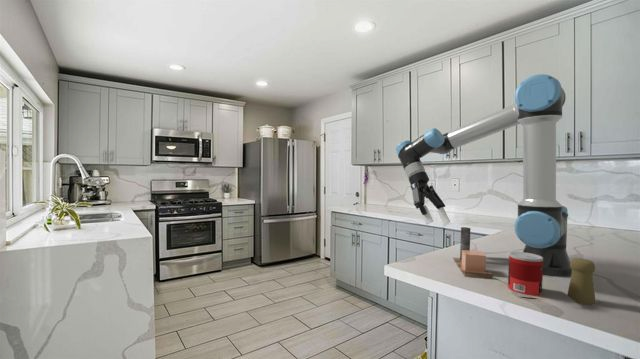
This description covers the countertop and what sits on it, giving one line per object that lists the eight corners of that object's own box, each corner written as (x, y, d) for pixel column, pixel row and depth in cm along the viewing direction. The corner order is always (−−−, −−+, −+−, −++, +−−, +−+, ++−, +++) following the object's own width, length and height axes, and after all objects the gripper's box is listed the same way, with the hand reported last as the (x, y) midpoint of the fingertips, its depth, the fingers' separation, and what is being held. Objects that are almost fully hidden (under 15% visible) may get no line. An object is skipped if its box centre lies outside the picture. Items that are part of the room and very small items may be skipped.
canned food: (547, 301, 82) (549, 260, 82) (514, 298, 84) (515, 258, 84) (533, 290, 90) (535, 252, 89) (503, 287, 91) (504, 250, 91)
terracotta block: (461, 267, 107) (461, 249, 107) (480, 268, 105) (480, 251, 105) (465, 272, 101) (465, 254, 101) (485, 274, 99) (485, 255, 99)
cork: (560, 295, 86) (562, 256, 86) (581, 295, 87) (582, 256, 86) (581, 305, 80) (582, 263, 80) (602, 304, 81) (604, 262, 80)
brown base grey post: (452, 260, 119) (453, 226, 118) (475, 262, 117) (476, 227, 116) (464, 280, 97) (465, 238, 97) (492, 282, 95) (493, 240, 95)
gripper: (424, 182, 138) (445, 227, 129) (392, 176, 121) (413, 226, 112) (439, 174, 133) (461, 219, 124) (407, 166, 116) (430, 218, 107)
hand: (438, 223), depth 118 cm, fingers open, 13 cm apart
